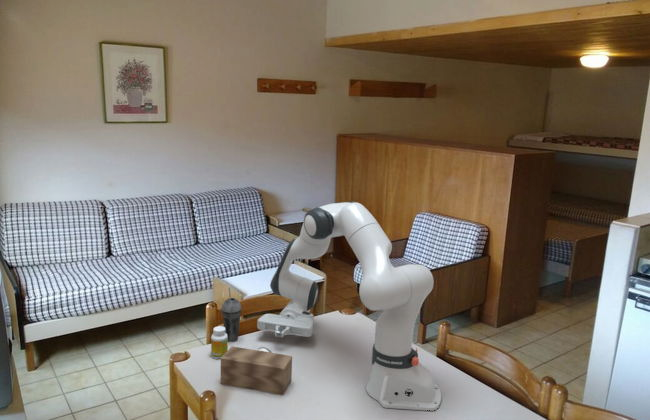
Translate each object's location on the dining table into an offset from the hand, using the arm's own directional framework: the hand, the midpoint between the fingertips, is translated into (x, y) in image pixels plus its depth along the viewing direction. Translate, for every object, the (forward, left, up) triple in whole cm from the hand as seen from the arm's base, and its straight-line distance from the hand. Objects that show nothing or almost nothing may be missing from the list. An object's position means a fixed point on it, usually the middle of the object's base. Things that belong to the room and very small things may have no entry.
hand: (278, 334), depth 172 cm
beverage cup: (+19, -3, -6) cm, 20 cm away
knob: (0, +18, -3) cm, 18 cm away
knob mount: (0, +21, -6) cm, 22 cm away
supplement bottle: (+18, +9, -6) cm, 21 cm away
